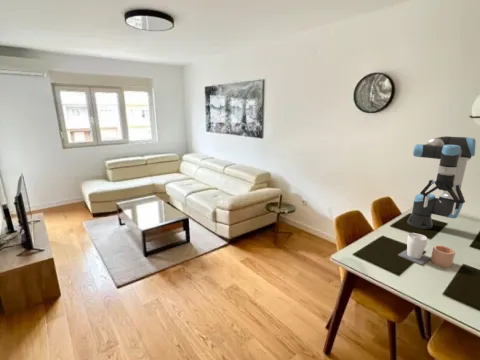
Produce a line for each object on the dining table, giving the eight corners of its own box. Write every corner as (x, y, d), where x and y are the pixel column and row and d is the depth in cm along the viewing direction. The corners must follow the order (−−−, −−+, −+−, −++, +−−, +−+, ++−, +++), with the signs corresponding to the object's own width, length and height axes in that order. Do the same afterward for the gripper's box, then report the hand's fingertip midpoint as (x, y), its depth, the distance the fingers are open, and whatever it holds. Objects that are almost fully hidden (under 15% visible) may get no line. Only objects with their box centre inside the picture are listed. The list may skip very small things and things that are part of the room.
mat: (407, 249, 156) (407, 248, 156) (430, 258, 147) (430, 257, 146) (397, 255, 150) (398, 254, 149) (421, 265, 140) (421, 264, 140)
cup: (426, 260, 143) (430, 241, 140) (408, 259, 145) (412, 239, 142) (419, 252, 152) (422, 233, 148) (402, 250, 153) (405, 232, 150)
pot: (435, 256, 149) (437, 244, 147) (453, 263, 142) (457, 250, 140) (428, 261, 144) (431, 248, 142) (447, 269, 137) (450, 255, 135)
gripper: (417, 170, 149) (411, 205, 155) (473, 179, 129) (463, 219, 135) (423, 168, 153) (417, 202, 159) (478, 177, 133) (469, 215, 139)
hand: (438, 210), depth 147 cm, fingers open, 13 cm apart
